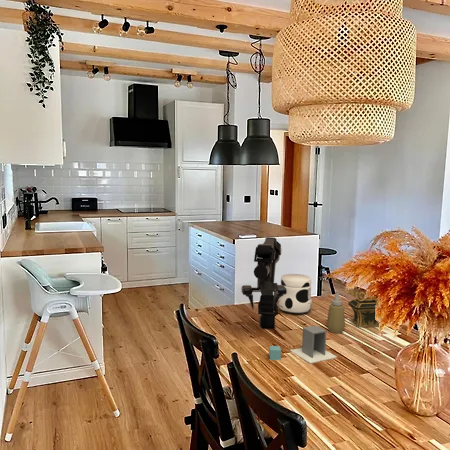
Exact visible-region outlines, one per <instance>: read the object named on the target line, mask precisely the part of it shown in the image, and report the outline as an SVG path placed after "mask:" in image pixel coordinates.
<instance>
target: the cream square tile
mask: <svg viewBox="0 0 450 450" xmlns="http://www.w3.org/2000/svg"><path fill="white" fill-rule="evenodd" d="M290 353H293V354H294V355H296V356H297V357H299V358H300V359H302V360H304V362H307V364H315V363H316V364H317V363H321V362H325V361H328V360H333V359H338V356H337V355H335V354H333V353H331V352H330V351H328V350H326V351H325V355H323V354H321V353H319V352H318V351H316V350H313V358H311V357H310V356H308V355H306V354H305V353H303V352H302V347H299V348H294V349H293V348H292V349H290ZM320 361H321V362H320Z"/></svg>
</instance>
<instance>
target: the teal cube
mask: <svg viewBox="0 0 450 450" xmlns="http://www.w3.org/2000/svg"><path fill="white" fill-rule="evenodd" d="M268 348H269V349H268V350H269V351H268V356H269V360H270V361H281V359H282V358H281V356H282V355H281V354H282V350H281V346H280V345H269V347H268Z"/></svg>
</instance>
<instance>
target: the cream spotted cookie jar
mask: <svg viewBox="0 0 450 450" xmlns="http://www.w3.org/2000/svg"><path fill="white" fill-rule="evenodd" d="M280 285H283V286H284V287H285V288H286V289H287V294H283V296H281V297H280V298H279V300H278V302H277V304H278V308H279V309H280V310H281V311H282V312H285V313H288V314H296V315H301V314H306V313H309V312H310V311H311V310H312V306H313V299H312V293H311V290H312V278H311V276H309V275H305V274H300V273H299V274H298V273H288V274H287V273H286V274H282V275H281V277H280Z"/></svg>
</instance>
